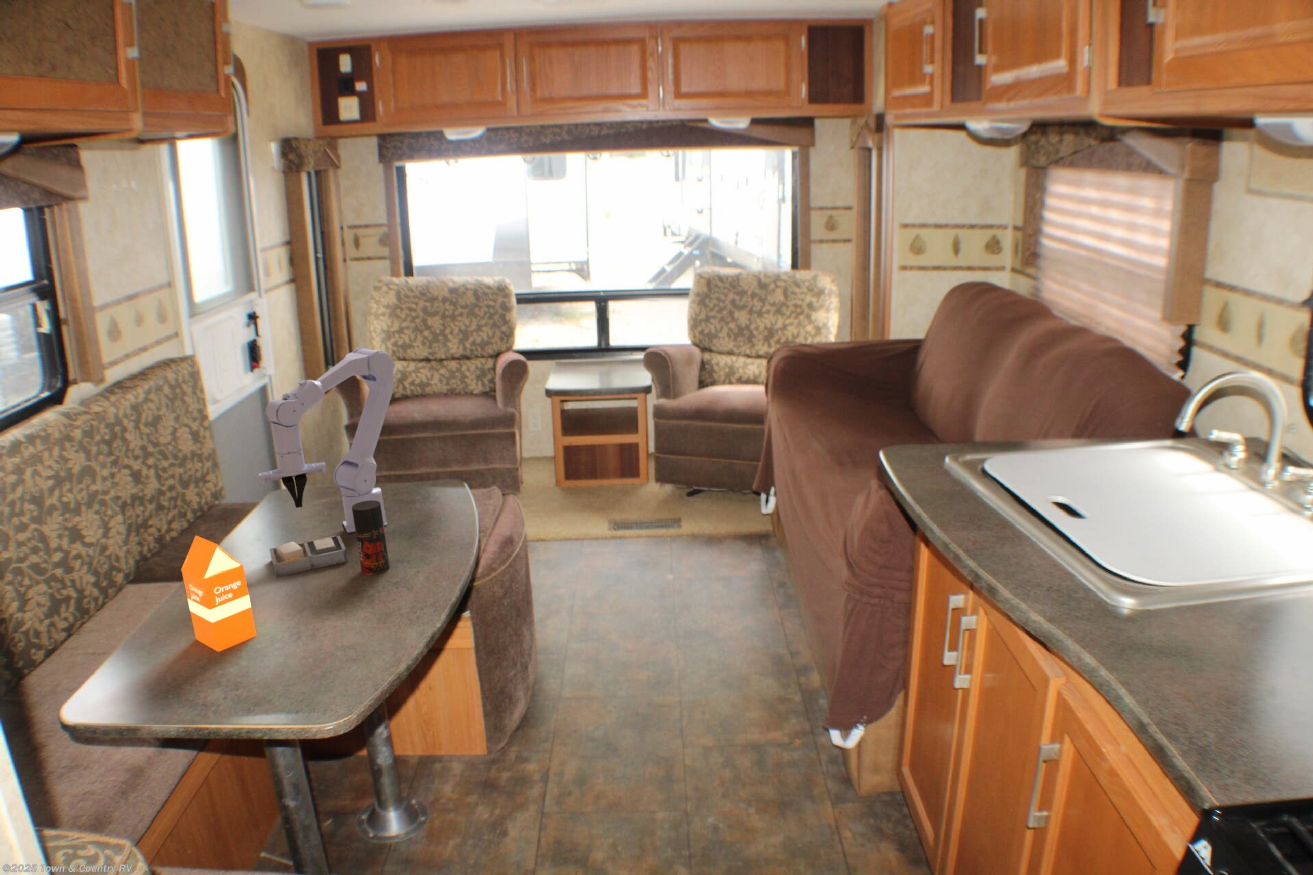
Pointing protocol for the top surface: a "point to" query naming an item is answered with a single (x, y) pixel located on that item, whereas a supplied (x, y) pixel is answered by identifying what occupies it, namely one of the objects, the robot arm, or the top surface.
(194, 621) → the orange juice
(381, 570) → the deodorant
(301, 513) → the top surface
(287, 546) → the off-white upright block
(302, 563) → the rack
